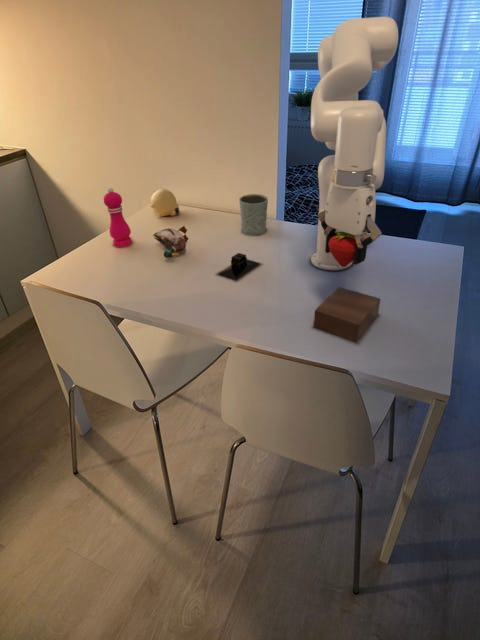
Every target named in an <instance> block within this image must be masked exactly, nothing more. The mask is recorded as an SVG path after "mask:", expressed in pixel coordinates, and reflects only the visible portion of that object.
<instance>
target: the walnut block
mask: <svg viewBox="0 0 480 640" xmlns="http://www.w3.org/2000/svg"><path fill="white" fill-rule="evenodd" d="M381 301H382V300H381V298H380V297H377V296H372V295H370V294H366V293H363V292H358V291H355V290H351V289H348V288H345V287H341V286H338V287H337V288H336V289H335V290H334V291H333V292H332V293H331V294H330V295H328V297H327V298H326V299H325V300H324V301H322V303H321V304H319V306H318V307H317V308H315V309H314V317H313V318H314V319H313V328H314V329H317V330H320V331H322V332H325V333H329V334H331V335H335V336H338V337H340V338H342V339H345V340H349V341H351V342H354V343H358V341H359V340H360V339H361V337H362V336H363V335H365V332H366V331H367V330H369V329H368V328H369V327H370V326H371V325H372V323H374V321H375V320H376V319H377V317H378V316H379V310H380V305H381Z"/></svg>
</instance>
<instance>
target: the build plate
mask: <svg viewBox="0 0 480 640" xmlns="http://www.w3.org/2000/svg"><path fill="white" fill-rule="evenodd" d="M260 265H261V263H260V262H256V261H253V260H249V259H248V257H247V255H246V254H244V253H241V252H238V253H236V254H233V255H232V256H231V260H230V265H229V266H228V267H226V268H225V269H223V270H221V271H220V272H218V274H217V275H218V276H221V277H223V278H226V279H229V280H232V281H238V280H240V279H241V278H243V277H244V276H246V275H247V274H249V273H250V272H251V271H253V270H254V269H256V268H257V267H259V266H260Z"/></svg>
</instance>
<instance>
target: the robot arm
mask: <svg viewBox="0 0 480 640" xmlns="http://www.w3.org/2000/svg"><path fill="white" fill-rule="evenodd" d="M398 43H399V28H398V24H397V22H396V21H395V19H393V18H392V17H390V16H373V17H358V18H350V19H347V20H344V21H342V22H341V23H339V24H338V25H337V26H336V28H335V29H334V31H333V33H332V34H330V35H327V36H325V37H324V38H322V39H321V41H320V42H319V45H318V49H317V65H318V67H317V68H318V73H319V78H320V80H319V81H318V83H317V84H316V86H315V87H314V90H313V92H312V96H311V103H310V132H311V135H312V137H313V139H314V140H315V141H317V142H319V143H324V144H325V146H326V148H327V149H329V150H332V151H335V152H334V154H331V155H327V156H325V157H324V158H322V159H321V161H320V162H319V164H318V167H317V179H318V189H319V190H318V192H319V197H318V199H319V201H318V203H319V204H318V213H317V218H318V221H317V238H316V252H314V253H313V254H312V255H311V257H310V262H311V264H312V265H313V266H314V267H316V268H318V269H321V270H325V271H341V270H345V269H348V268H350V267H351V266H352V264H353V265H355V266H357V265H360V264H361V263H363V262H365V260H366V259H367V258H366V257H367V250H368V246H369V245H371V244H372V243H374V242H375V241H376V240H377V239H378V238H379V237H381V235H382V233H383V232H382V231H381V229H380V228H379V227H378V225H377V224H376V222H375V221H376V212H377V211H376V209H377V208H376V207H377V197H376V196H377V194H376V191H377V190H379V189H380V188H381V187H382V185H383V182H384V178H385V168H386V167H385V165H386V143H387V121H386V119H385V116H384V109H383V108H382V107H381V105H380V103H379V102H378V101H376V100H372V99H371V100H369V99H367V100H366V99H363V100H361V99H360V100H359V92H360V91H361V90H363V89H365V87H366V86H367V85H368V84H369V82H370V80H371V78H372V74H373V71H375V72H376V71H380V70H382V69H384V68H385V67H386V66H387V65H388V64H389V63H390V62H391V61H392V60H393V58H394V56H395V54H396V52H397V49H398ZM335 231H337V232H341V231H342V232H346V233H348V234H351V235H354V237H355V240H356V243H357V247H355V251H354V259H353V261H352V262H351V263H349V264H348V265H347V266H346V267H342V266H340V265H339V263H338V262H337V261H336V260H335V258H334V257H333V255H332V254H331V252H330V249H329V241H330V239H331V238H332V237H333V236H335V235H338V234H339V233H336V232H335ZM368 232H370V235H369V233H368Z"/></svg>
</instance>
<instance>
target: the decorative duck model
mask: <svg viewBox="0 0 480 640" xmlns="http://www.w3.org/2000/svg"><path fill="white" fill-rule="evenodd" d="M187 232H188V229H187V228H186V226H185V225H182V226H181V227H180V228H179V229H178V230H177V229H174V228H164V229H161V230H159V231H157V232H155V233H153V236H152V237H153V239H155V240H156V241H157V242H159V244H161V245H162V246H163V247H165V248H166V250H164V253H163V257H164V258H165V259H170V258H174V257H180V256H181V254H180V253H182V252H184V251H185V250H186V248H187V243H188V240H189V239H190V238H189V237H188V236H187ZM183 234H184V235H183Z"/></svg>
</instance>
